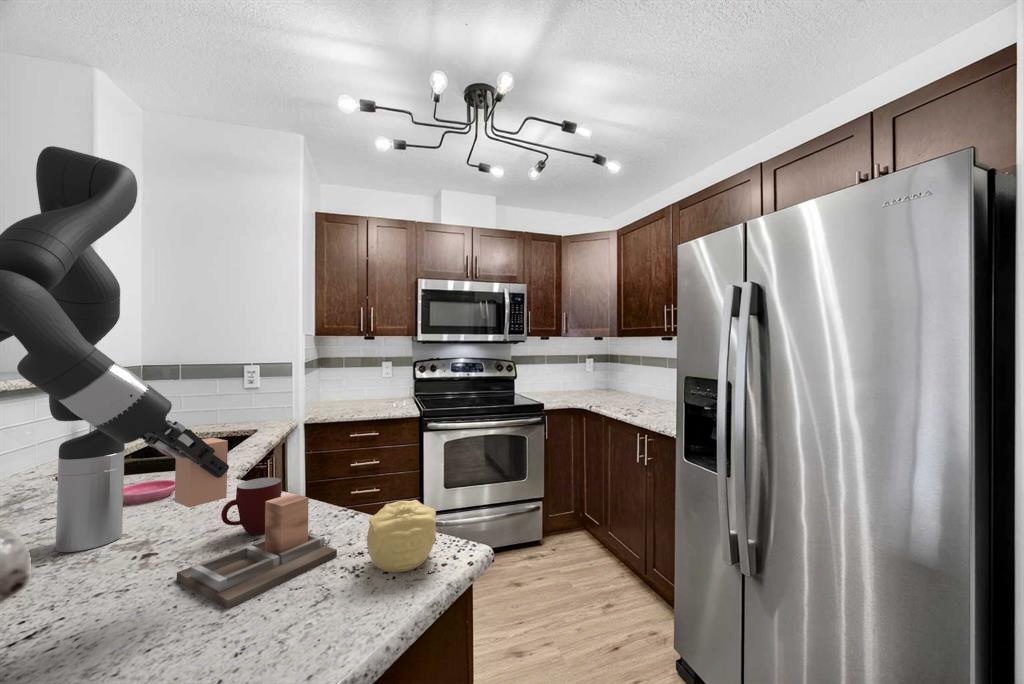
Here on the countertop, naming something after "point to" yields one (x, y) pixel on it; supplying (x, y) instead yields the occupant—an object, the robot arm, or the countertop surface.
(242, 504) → the mug
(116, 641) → the countertop surface
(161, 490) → the saucer
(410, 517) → the sculpture
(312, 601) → the countertop surface
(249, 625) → the countertop surface
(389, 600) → the countertop surface
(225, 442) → the pillar
